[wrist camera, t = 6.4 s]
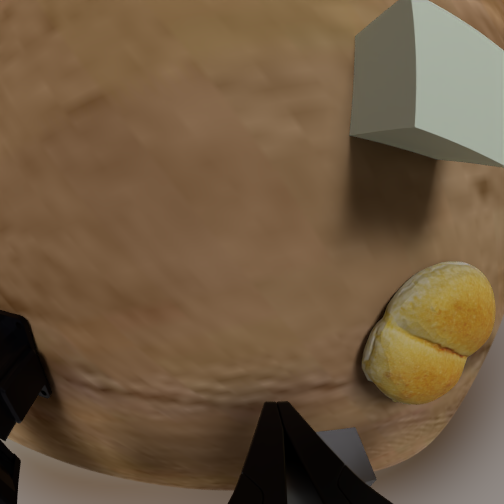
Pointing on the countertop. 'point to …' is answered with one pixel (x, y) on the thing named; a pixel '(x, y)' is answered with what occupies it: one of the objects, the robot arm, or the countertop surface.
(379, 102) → the sage block
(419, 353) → the bread roll
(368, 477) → the charcoal block
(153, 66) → the countertop surface
